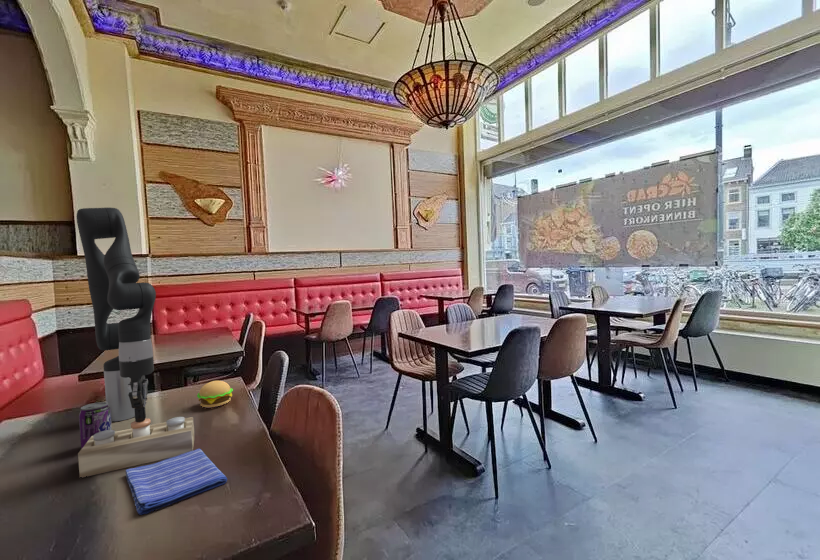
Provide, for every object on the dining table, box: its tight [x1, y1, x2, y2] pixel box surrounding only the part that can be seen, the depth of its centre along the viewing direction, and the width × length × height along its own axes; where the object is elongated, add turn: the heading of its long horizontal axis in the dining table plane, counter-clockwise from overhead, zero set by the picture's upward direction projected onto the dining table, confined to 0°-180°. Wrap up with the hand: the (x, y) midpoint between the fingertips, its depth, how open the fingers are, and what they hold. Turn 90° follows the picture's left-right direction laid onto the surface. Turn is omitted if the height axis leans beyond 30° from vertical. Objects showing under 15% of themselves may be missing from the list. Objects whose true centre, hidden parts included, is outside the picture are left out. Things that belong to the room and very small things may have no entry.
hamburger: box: [196, 380, 234, 408], centre depth 145 cm, size 12×12×9 cm
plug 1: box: [93, 429, 116, 446], centre depth 102 cm, size 4×4×8 cm
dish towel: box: [125, 448, 228, 516], centre depth 92 cm, size 17×24×3 cm
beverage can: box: [78, 401, 113, 450], centre depth 113 cm, size 7×7×12 cm
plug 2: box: [165, 416, 186, 431], centre depth 109 cm, size 4×4×8 cm
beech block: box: [77, 416, 195, 478], centre depth 105 cm, size 12×24×6 cm, turn 117°
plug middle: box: [130, 417, 152, 438], centre depth 105 cm, size 4×4×8 cm
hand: (140, 420), depth 105 cm, fingers closed
